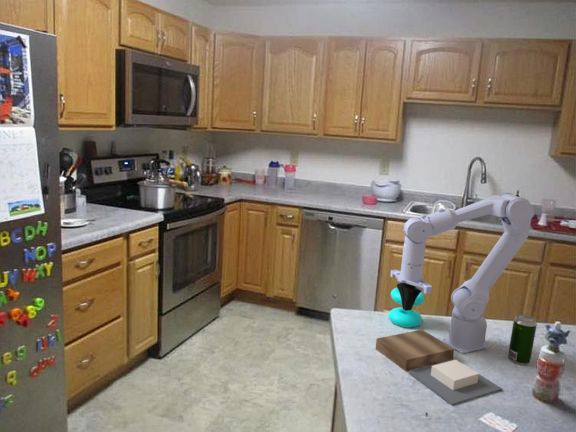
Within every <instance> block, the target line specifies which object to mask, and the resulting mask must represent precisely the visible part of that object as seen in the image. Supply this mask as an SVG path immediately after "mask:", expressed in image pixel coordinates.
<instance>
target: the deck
mask: <svg viewBox="0 0 576 432" xmlns="http://www.w3.org/2000/svg"><path fill="white" fill-rule="evenodd" d="M375 341H376V342H375V349H376V351H378V352H379V353H381V354H382V355H383V356H384V357H386V358H387V359H389V361H392V363H394V364H395V365H397V366H398V367H399V368H401V369H402V370H404V371H405V372H407V371H408V372H409V371H413V370H417V369H421V368H425V367H429V366H433V365H437V364H441V363H445V362H448V361H452V360H454V355H455V349H454V348H452V347H451V346H449V345H447V344H446V343H444V342H442V341H441V340H440V339H439V338H437V337H435V336H434V335H433V334H431V333H429V332H427V331H425V330H424V329H419V330H418V329H417V330H414V331H413V330H412V331H408V332H404V333H403V332H402V333H399V334H398V333H397V334H393V335H387V336H382V337H378V338H376V340H375Z"/></svg>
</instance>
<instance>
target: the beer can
mask: <svg viewBox="0 0 576 432" xmlns="http://www.w3.org/2000/svg"><path fill="white" fill-rule="evenodd" d="M536 330H537V319H536V318H535V317H533V316H530V315H527V314H516V315H515V316H514V319H513V322H512V329H511V334H510V335H511V336H510V339H509V341H510V342H509V345H508V346H509V347H508V354H507V357H508V360H509V361H510V362H511V363H513V364H515V365H519V366H528V365H529V364H530V363H531V361H532V360H531V359H532V354H533V348H534V342H535V337H536Z"/></svg>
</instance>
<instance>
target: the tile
mask: <svg viewBox="0 0 576 432" xmlns="http://www.w3.org/2000/svg"><path fill="white" fill-rule="evenodd" d="M431 366H432V369H431V376H433V377H434V378H436V379H437V380H439V381H440V382H442V383H443V384H445V385H446V386H447V387H449V388H450V389H452V390H456V389H459V388H462V387H465V386H469V385H472V384H475V383H477V381H478V375H479V373H478V372H477V371H475V370H473V369H471V367H469V366H467V365H466V364H464V363H462V362H461V361H459V360H457V359H452V360H448V361H444V362H440V363H436V364H432V365H431Z"/></svg>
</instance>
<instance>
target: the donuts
mask: <svg viewBox="0 0 576 432" xmlns="http://www.w3.org/2000/svg"><path fill="white" fill-rule="evenodd" d="M390 297H391V300H393V301H394V302H395V303H396V304H398V305H401V306H400V307H395V308H392V309H391V310H390V311H389V313H388V319H389V322H391V323H393V324H394V325H397V326H398V327H402V328H416V327H418V326H420V325H421V324H422V322H423V321H422V320H423V319H422V316H421V314H420V313H419V312H418V311H417V310H415V309H413V308H412V309H411V310H408V311H405V310H404V309H403V307H402V300H401V296H400V292H399V290H398V288H397V287H395V288H393V289H392V290H391V292H390ZM424 301H425V295H424V292H423V291H421V293H420V294H419V295H418V297H417V298H416V300H415V302H414V304H413V307H416V306H420V305H421V304H423V303H424Z"/></svg>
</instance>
